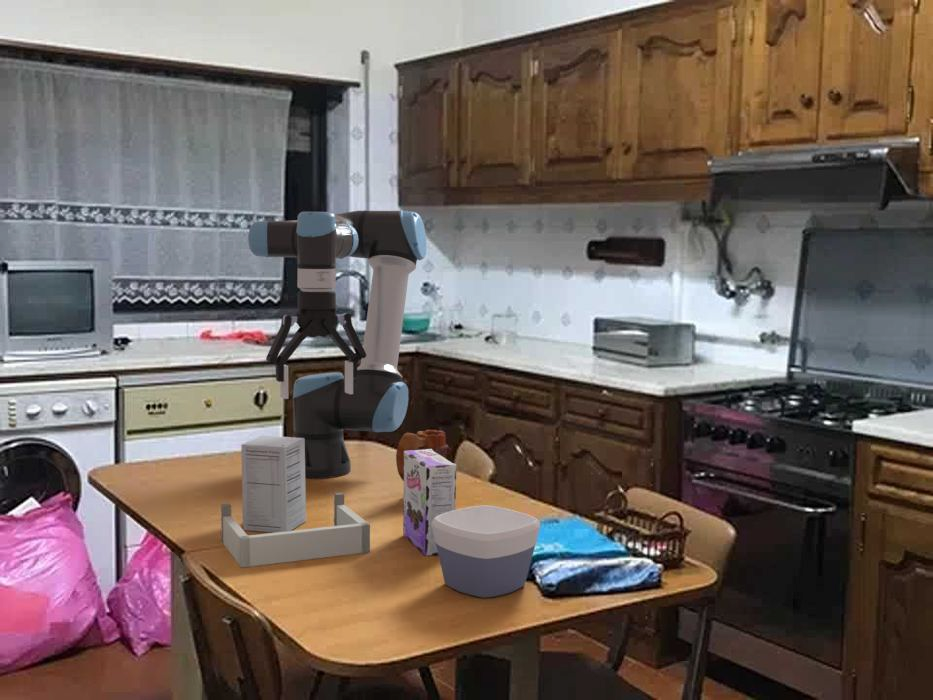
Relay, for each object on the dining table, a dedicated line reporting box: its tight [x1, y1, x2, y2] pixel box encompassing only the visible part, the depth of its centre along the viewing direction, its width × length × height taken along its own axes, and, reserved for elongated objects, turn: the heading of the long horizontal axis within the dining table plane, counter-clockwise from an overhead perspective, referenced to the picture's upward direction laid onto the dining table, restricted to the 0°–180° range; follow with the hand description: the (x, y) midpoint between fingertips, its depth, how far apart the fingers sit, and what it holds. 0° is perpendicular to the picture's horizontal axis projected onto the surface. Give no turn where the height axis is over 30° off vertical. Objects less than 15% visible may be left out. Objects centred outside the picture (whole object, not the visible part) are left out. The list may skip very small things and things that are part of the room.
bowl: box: [431, 504, 541, 599], centre depth 169 cm, size 15×15×11 cm
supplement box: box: [240, 435, 307, 533], centre depth 201 cm, size 10×9×17 cm
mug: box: [395, 429, 452, 482], centre depth 222 cm, size 15×8×15 cm, turn 141°
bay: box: [220, 492, 371, 568], centre depth 188 cm, size 16×23×7 cm
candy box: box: [402, 449, 457, 557], centre depth 191 cm, size 14×6×16 cm, turn 21°
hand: (317, 395), depth 209 cm, fingers open, 13 cm apart
